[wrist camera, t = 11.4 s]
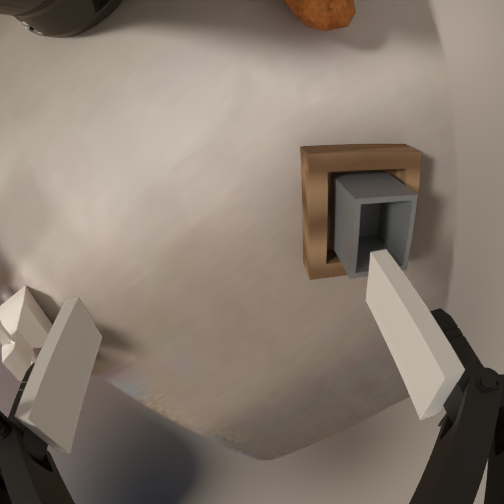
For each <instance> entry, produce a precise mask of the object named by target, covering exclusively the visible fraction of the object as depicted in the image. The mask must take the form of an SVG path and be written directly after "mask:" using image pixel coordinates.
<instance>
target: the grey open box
mask: <svg viewBox="0 0 504 504" xmlns="http://www.w3.org/2000/svg"><path fill="white" fill-rule="evenodd" d="M417 198H418V194H416V193H415V192H414V191H412V190H411V189H410V188H408V187H407V186H406V185H404V184H403V183H401V182H400V181H399V180H397V179H396V178H394V177H393V176H391V175H390V174H389V173H387V172H386V171H369V172H350V173H334V174H331V215H330V243H331V245H332V247H333V249H334V250H335V252H336V254H337V256H338V258H339V259H340V261H341V263H342V265H343V267H344V269H345V270H346V272H347V274H348V276H349V278H357V277H364V276H368V274H369V263H370V252H373V251H379V250H385V249H387V251H388V252H389V254H390V255H391V256H392V258H393V259H394V260H395V262H396V263H397V264H398V266H399V267H400V269H401V270H406V269H407V264H408V259H409V253H410V247H411V241H412V235H413V229H414V222H415V214H416V207H417Z"/></svg>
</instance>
